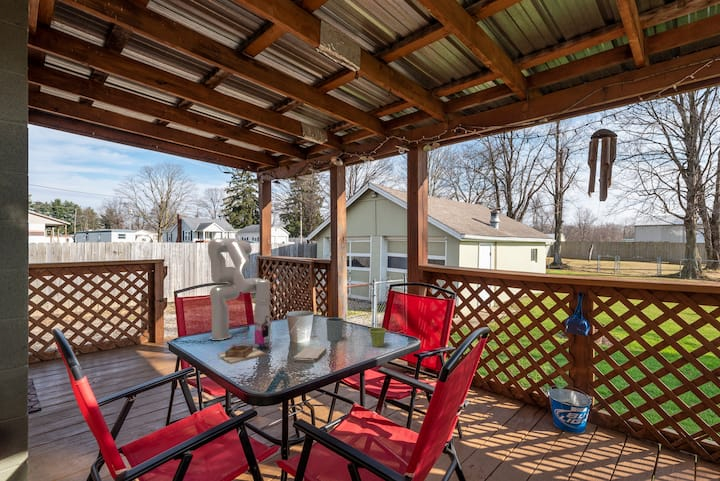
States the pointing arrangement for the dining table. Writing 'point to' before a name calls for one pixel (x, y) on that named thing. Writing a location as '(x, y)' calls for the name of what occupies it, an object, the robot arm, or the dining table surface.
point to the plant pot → (377, 336)
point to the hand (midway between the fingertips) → (262, 334)
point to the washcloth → (309, 355)
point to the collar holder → (240, 353)
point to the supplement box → (259, 333)
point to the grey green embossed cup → (334, 329)
